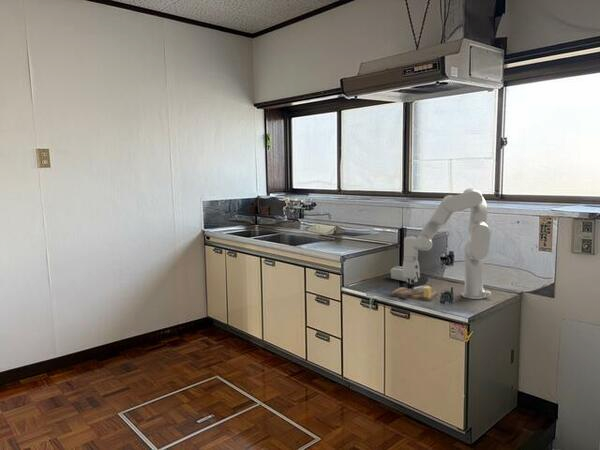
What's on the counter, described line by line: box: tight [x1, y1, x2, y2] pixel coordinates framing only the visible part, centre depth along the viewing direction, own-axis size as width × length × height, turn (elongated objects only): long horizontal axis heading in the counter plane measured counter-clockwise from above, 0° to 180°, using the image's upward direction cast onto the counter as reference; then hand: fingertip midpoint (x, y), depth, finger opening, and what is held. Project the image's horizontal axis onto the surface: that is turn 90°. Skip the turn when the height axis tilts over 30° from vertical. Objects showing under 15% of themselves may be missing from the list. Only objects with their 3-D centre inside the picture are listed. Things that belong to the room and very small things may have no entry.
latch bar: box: [408, 284, 430, 295], centre depth 259 cm, size 14×3×3 cm, turn 118°
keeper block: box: [423, 285, 432, 298], centre depth 253 cm, size 3×4×5 cm
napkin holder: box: [390, 266, 407, 283], centre depth 293 cm, size 17×5×10 cm, turn 41°
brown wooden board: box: [390, 286, 440, 302], centre depth 261 cm, size 23×14×2 cm, turn 55°
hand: (410, 290), depth 260 cm, fingers closed
